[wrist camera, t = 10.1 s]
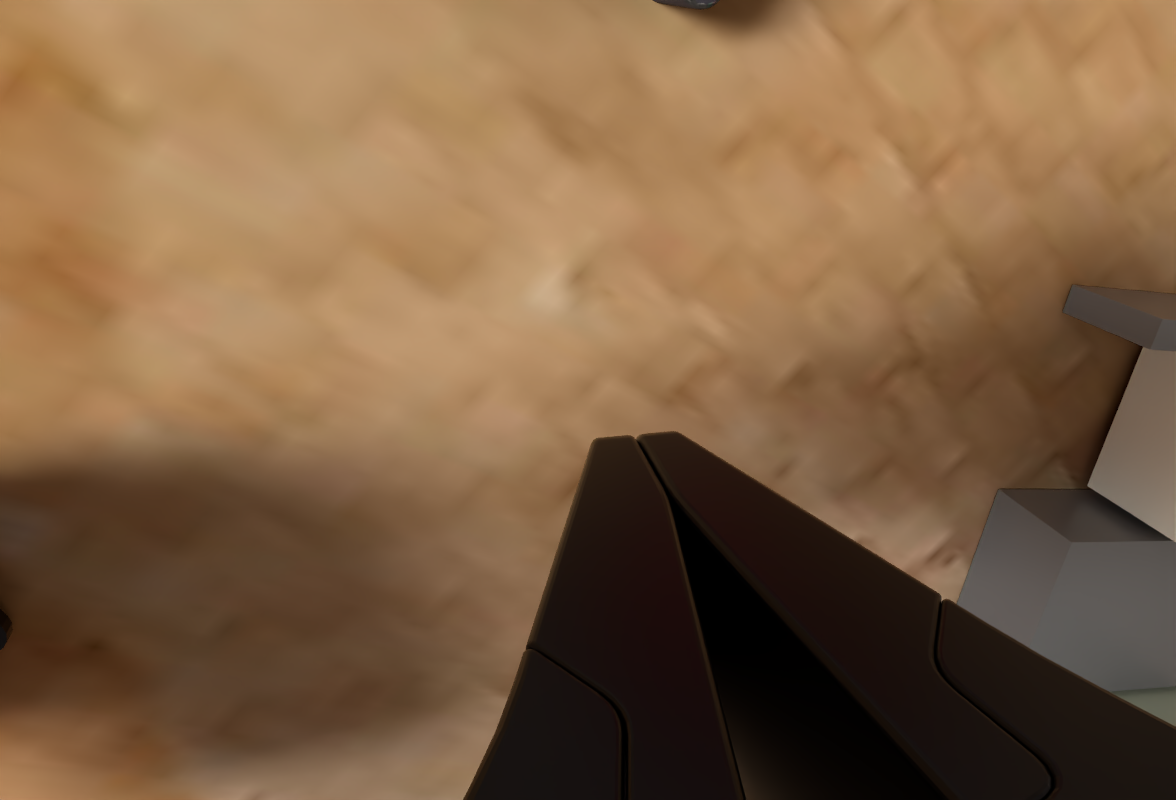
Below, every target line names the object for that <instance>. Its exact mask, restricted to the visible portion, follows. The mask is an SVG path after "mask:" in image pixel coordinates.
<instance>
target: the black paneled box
mask: <svg viewBox="0 0 1176 800" xmlns="http://www.w3.org/2000/svg"><path fill="white" fill-rule="evenodd" d="M653 1H655V2H657V3H662V4H668V5H674V6H680V7H685V8H692V9H707V8H710V7H712V6H714V5H715V4H716V3H717V2H718V1H719V0H653Z"/></svg>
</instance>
